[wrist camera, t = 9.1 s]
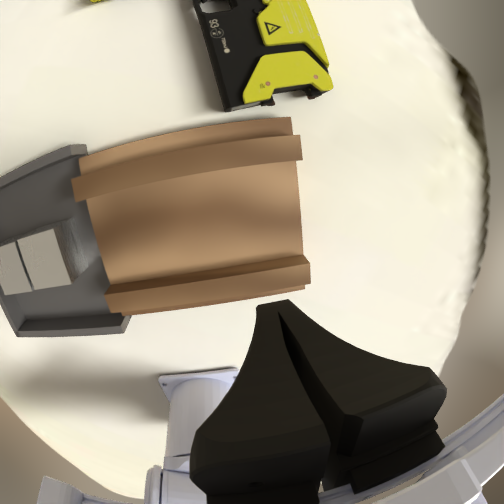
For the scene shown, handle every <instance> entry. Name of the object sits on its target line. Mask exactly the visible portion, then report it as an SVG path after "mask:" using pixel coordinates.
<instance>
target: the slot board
mask: <svg viewBox="0 0 504 504" xmlns="http://www.w3.org/2000/svg"><path fill="white" fill-rule="evenodd" d="M297 160H303V158H302V149H301V140H300V135H293V131H292V123H291V117H281V118H268V119H257V120H248V121H239V122H231V123H224V124H217V125H210V126H204V127H199V128H193V129H188V130H182V131H177V132H172V133H168V134H163V135H159V136H154V137H150V138H146V139H142V140H138V141H134V142H131V143H127V144H123V145H120V146H116V147H113V148H110V149H106V150H103V151H100V152H97V153H94V154H91V155H88V156H85V157H82V158H79V165H80V171H81V176H79V177H76V178H73V179H71V182H72V187H73V192H74V197H75V202H79V201H82V200H85V199H86V201H87V205H88V210H89V214H90V218H91V222H92V226H93V230H94V233H95V237H96V241H97V244H98V247H99V251H100V254H101V257H102V261H103V264H104V267H105V270H106V273H107V276H108V279H109V282H110V284H111V285H110V286H109V288H108V289H107V291H106V292H105V294H104V297H105V299H106V302H107V304H108V307H109V309H110V312H111V313H118V312H121V313H122V316H128V315H137V314H146V313H155V312H163V311H171V310H179V309H186V308H194V307H201V306H208V305H214V304H221V303H228V302H234V301H240V300H246V299H252V298H258V297H264V296H270V295H276V294H281V293H287V292H292V291H297V290H303V289H305V285H306V284H311V278H310V263H309V261H308V260H307V259H306V257H305V256H304V255H303V240H302V225H301V212H300V199H299V188H298V177H297V167H296V161H297Z"/></svg>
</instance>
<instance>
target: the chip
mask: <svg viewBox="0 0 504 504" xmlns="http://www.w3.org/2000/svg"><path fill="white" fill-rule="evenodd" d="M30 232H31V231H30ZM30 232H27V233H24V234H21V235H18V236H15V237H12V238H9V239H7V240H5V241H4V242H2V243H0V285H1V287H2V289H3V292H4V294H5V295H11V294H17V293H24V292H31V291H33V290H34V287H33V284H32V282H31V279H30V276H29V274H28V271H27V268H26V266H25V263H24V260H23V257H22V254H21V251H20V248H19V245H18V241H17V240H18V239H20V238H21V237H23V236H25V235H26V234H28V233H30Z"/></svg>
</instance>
